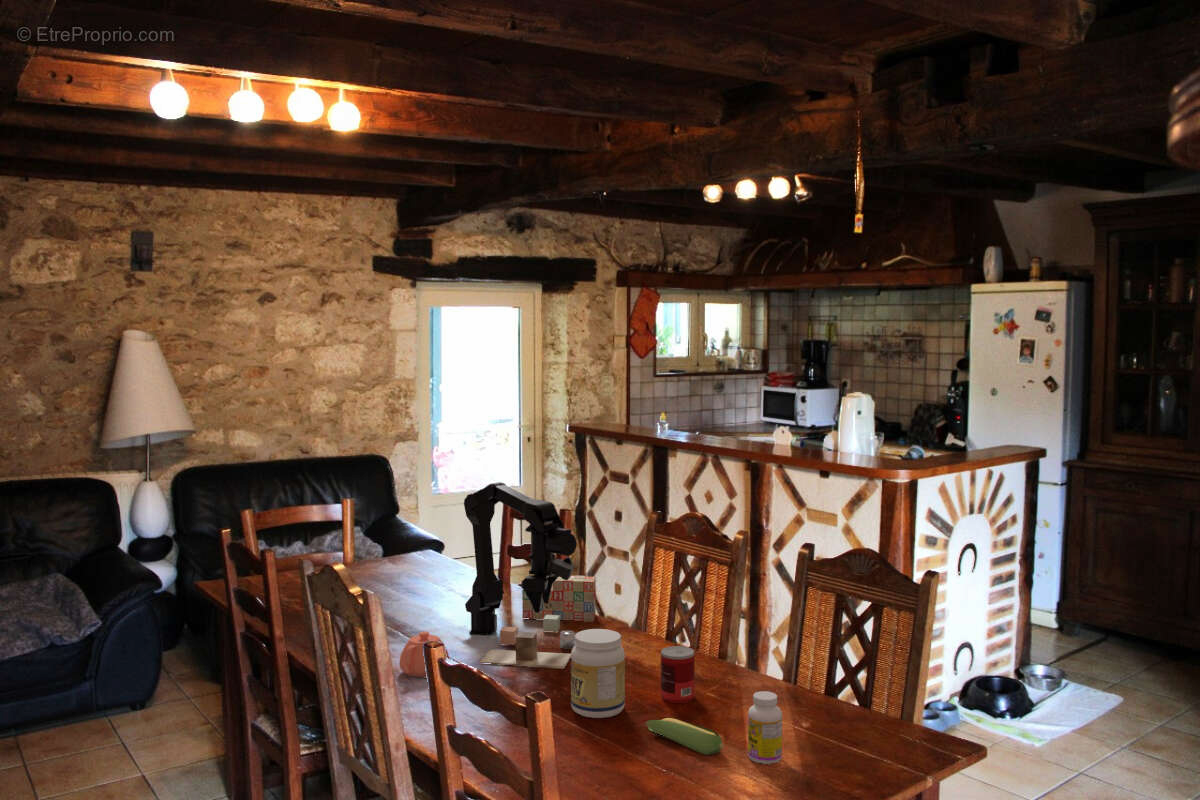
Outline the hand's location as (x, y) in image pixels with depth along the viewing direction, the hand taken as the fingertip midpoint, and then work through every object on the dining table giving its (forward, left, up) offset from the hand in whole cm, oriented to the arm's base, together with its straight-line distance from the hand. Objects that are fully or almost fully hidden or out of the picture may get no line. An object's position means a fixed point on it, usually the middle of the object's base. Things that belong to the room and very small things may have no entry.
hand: (541, 607), depth 261 cm
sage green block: (-1, +17, -12) cm, 21 cm away
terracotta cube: (-10, +4, -12) cm, 16 cm away
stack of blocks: (-2, +30, -12) cm, 32 cm away
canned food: (+39, -29, -12) cm, 50 cm away
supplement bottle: (+59, -59, -12) cm, 84 cm away
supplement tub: (+22, -39, -12) cm, 46 cm away
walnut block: (-2, -9, -11) cm, 14 cm away
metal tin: (+6, +3, -11) cm, 13 cm away
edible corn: (+42, -54, -12) cm, 70 cm away
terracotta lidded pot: (-25, -23, -12) cm, 36 cm away
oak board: (-2, -9, -11) cm, 15 cm away
